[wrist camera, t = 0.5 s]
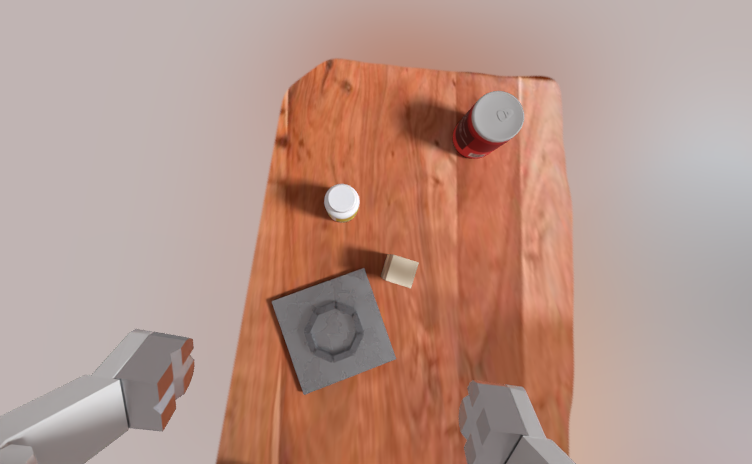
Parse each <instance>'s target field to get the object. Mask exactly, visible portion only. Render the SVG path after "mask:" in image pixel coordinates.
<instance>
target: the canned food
mask: <svg viewBox="0 0 752 464" xmlns="http://www.w3.org/2000/svg"><path fill="white" fill-rule="evenodd" d="M523 122H524V111H523V108H522V105H521V104H520V102H519V101H518V100H517V98H515V97H514V96H513V95H511V94H509V93H507V92H503V91H493V92H490V93H488V94H486V95H484V96H483V97H481V98H480V99H479V100H478V101H477V102H476V103H475V104H474V105H473V107H472V108H471V109H470V110H469V111H468V112H467V114H466V115H465V116H464V117H463V118H462V119H461V121H460V122H459V123H458V124H457V125H456V127H455V129H454V132H453V143H454V146H455V148H456V150H457V151H458V152H459V153H460V154H461V155H463V156H465V157H467V158H474V159H476V158H482V157H484V156H486V155H488V154H489V153H491V152H492V151H494V150H495V149H497V148H498V147H500V146H501V145H503V144H504V143H506V142H507V141H509V140H510V139H511V138H513V137H514V136H515V135H516V134H517V133H518V132H519V131H520V129H521V127H522V125H523Z"/></svg>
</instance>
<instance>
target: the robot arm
mask: <svg viewBox="0 0 752 464" xmlns="http://www.w3.org/2000/svg"><path fill="white" fill-rule="evenodd" d="M192 350H193V339H191V338H186V337H181V336H176V335H169V334H164V333H158V332H151V331H145V330H139V329H135V330H133V331H131V332H130V333H129V334H128V335H127V336H126V337H125V338H124V339H123V340H122V341H121V343H120V344H119V345H118V346H117V347H116V348H115V349H114V351H113V352H112V353H111V354H110V355H109V356H108V357H107V358H106V359H105V360H104V362H103V363H102V364H101V365H100V366H99V367H98V368H97V369H96V371H95V372H94V373H93V374H92V375H84V376H82V377H80V378H77V379H75V380H73V381H71V382H69V383H67V384H65V385H63V386H61V387H59V388H57V389H55V390H53V391H51V392H49V393H47V394H45V395H43V396H41V397H39V398H37V399H35V400H32V401H30V402H29V403H27V404H24V405H22V406H20V407H18V408H16V409H14V410H12V411H10V412H8V413H6V414H4V415H2V416H0V464H84V463H86V462H87V461H88V460H89V459H91V458H92V457H93V456H95V455H96V454H98V453H99V452H100V451H102V450H103V449H104V448H105V447H107V446H108V445H109V444H111V443H112V442H113V441H115V440H116V439H117V438H119V437H120V436H121V435H123V434H124V433H125V432H127V431H128V428H134V429H143V430H153V431H163V430H164V429H165V427H166V425H167V423H168V421H169V420H170V418H171V416H172V415H173V413H174V411H175V409H176V402H175V400H176V399H177V398H179V397H181V396H182V395H184V394H185V392H186V390H187V388H188V386H189V384H190V381H191V379H192V376H193V372H194V359H193V358H192V357H191V355H190V353H191V351H192ZM467 389H468V393H469V395H468V396H466V397H465V398H463V400H462V402H461V405H460V409H459V426H460V431H461V433H462V434H463V436H464V437H465V438H466V439H467V442H466V444H465V446H464V450H465V455H466V459H467V464H576V463H575V462H574V461H573V460H572V459H571V458H570V457H569V456H568V455H566V454H565V453H564V452H563V451H562V450H561V449H560V448H559V447H558V446H557V445H556V444H555V443H554V442H553V441H552V440H550V439H546V437H545V434H544V432H543V430H542V427H541V425H540V423H539V420H538V418H537V416H536V414H535V411H534V409H533V407H532V404H531V402H530V400H529V397H528V395H527V393H526V391H525V389H524V388H523V387H519V386H512V385H504V384H499V383H492V382H484V381H477V380H473V381H471V382H470V384H469V386H468V388H467Z"/></svg>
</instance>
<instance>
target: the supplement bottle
mask: <svg viewBox="0 0 752 464" xmlns="http://www.w3.org/2000/svg"><path fill="white" fill-rule="evenodd" d="M324 204H325V208H326V210H327V213H328V215H329V216H330V217H331V218H332V219H333V220H334V221H337V222H341V223H344V222H348V221H350V220H352V219H353V218H354V217H355V216H356V214H357V212H358V208H359V196H358V194H357V192H356V191H355V189H354V188H352V187H351V186H349V185H346V184H337V185H335V186H333V187H331V188H330V189H329V190H328V191H327V193H326V195H325V198H324Z"/></svg>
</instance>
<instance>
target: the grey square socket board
mask: <svg viewBox="0 0 752 464" xmlns="http://www.w3.org/2000/svg"><path fill="white" fill-rule="evenodd" d="M272 304H273V307H274V310H275V313H276V316H277V319H278V321H279V324H280V327H281V330H282V333H283V336H284V339H285V342H286V345H287V347H288V350H289V353H290V356H291V359H292V362H293V365H294V368H295V371H296V373H297V376H298V379H299V382H300V385H301V388H302V391H303V394H304V395H305V394H308V393H310V392H313V391H315V390H318V389H320V388H323V387H326V386H328V385H331V384H333V383H336V382H338V381H341V380H344V379H346V378H349V377H351V376H354V375H356V374H359V373H361V372H364V371H367V370H369V369H372V368H374V367H377V366H379V365H382V364H385V363H387V362H390V361H392V360H395V359H396V357H395V354H394V351H393V349H392V346H391V343H390V340H389V337H388V334H387V332H386V329H385V326H384V323H383V320H382V317H381V315H380V312H379V309H378V306H377V303H376V300H375V297H374V295H373V292H372V289H371V286H370V283H369V280H368V278H367V275H366V272H365V269H364V268H362V269H359V270H356V271H353V272H350V273H348V274H345V275H342V276H339V277H337V278H334V279H331V280H328V281H326V282H323V283H320V284H317V285H314V286H312V287H309V288H306V289H303V290H301V291H298V292H295V293H292V294H289V295H287V296H284V297H281V298H278V299H276V300H273V301H272Z"/></svg>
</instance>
